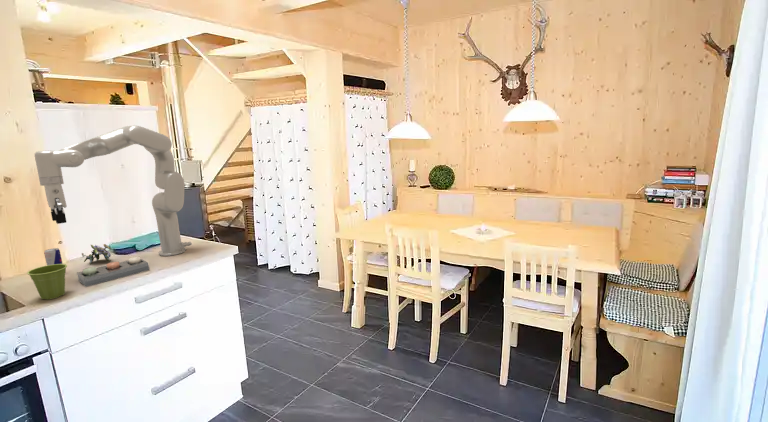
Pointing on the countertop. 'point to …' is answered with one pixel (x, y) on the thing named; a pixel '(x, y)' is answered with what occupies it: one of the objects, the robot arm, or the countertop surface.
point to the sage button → (89, 271)
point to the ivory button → (134, 260)
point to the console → (112, 273)
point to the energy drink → (53, 256)
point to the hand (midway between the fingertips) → (59, 221)
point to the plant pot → (49, 280)
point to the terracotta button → (113, 265)
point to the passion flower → (98, 253)
